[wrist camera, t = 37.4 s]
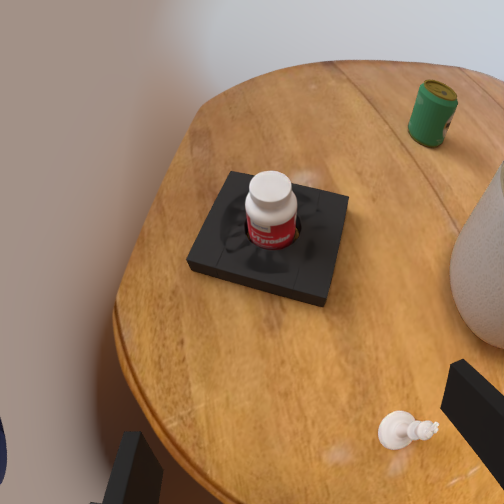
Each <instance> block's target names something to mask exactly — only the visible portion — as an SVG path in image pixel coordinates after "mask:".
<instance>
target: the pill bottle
mask: <svg viewBox="0 0 504 504" xmlns="http://www.w3.org/2000/svg"><path fill="white" fill-rule="evenodd" d="M249 190H250V192H249V193H248V195H247V197H246V201H245V208H246V216H247V223H248V231H249V238H250V242H251V243H253V244H254V245H256V246H257V247H258V248H262V249H266V250H281V249H284V248H286V247H288V246H290V245H292V244H293V242H294V237H295V226H296V214H297V199H296V196H295V194H294V193H293V191H292V187H291V182H290V180H289V178H288V177H287V176H286V175H284V174H282V173H280V172H277V171H265V172H261V173H259V174H257V175H256V176H254V177H253V178H252V180H251V182H250V185H249Z"/></svg>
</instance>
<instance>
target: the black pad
mask: <svg viewBox="0 0 504 504" xmlns="http://www.w3.org/2000/svg"><path fill="white" fill-rule="evenodd" d="M254 176H255V175H250V174H245V173H239V172H234V171H230V173H229V175H228V177H227V179H226V181H225V183H224V185H223V187H222V188H221V190H220V192H219V194H218V196H217V198H216V200H215V202H214V204H213V206H212V208H211V210H210V212H209V214H208V216H207V218H206V220H205V222H204V224H203V226H202V228H201V230H200V232H199V234H198V236H197V238H196V240H195V242H194V244H193V246H192V248H191V250H190V252H189V254H188V257H187V259H186V260H187V262H188V264H189V266H190V268H191V270H193V271H196V272H199V273H203V274H206V275H209V276H213V277H216V278H220V279H223V280H226V281H230V282H233V283H237V284H240V285H244V286H247V287H251V288H254V289H258V290H261V291H265V292H269V293H272V294H276V295H279V296H283V297H287V298H290V299H294V300H298V301H301V302H305V303H309V304H313V305H316V306H320V307H324V304H325V302H326V299H327V296H328V292H329V288H330V284H331V280H332V275H333V271H334V267H335V262H336V258H337V253H338V249H339V244H340V240H341V235H342V230H343V225H344V220H345V215H346V210H347V205H348V200H349V197H348V196H344V195H340V194H336V193H332V192H328V191H324V190H320V189H315V188H311V187H307V186H302V185H298V184H293V183H291V187H292V191H293V193H294V194H295V196H296V199H297V214H296V228H297V229H298V231H299V237H298V239H297V240H296V241H295V242H294V243H293V244H292V245H290V246H288V247H286V248H284V249H281V250H266V249H262V248H258V247H257V246H256V245H254V244H253V243H251V242H250V241H249V239H248V238H247V236H246V234H247V232H248V223H247V216H246V208H245V201H246V197H247V195H248V193H249V192H250V190H249V185H250V182H251V180H252V178H253V177H254Z"/></svg>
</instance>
